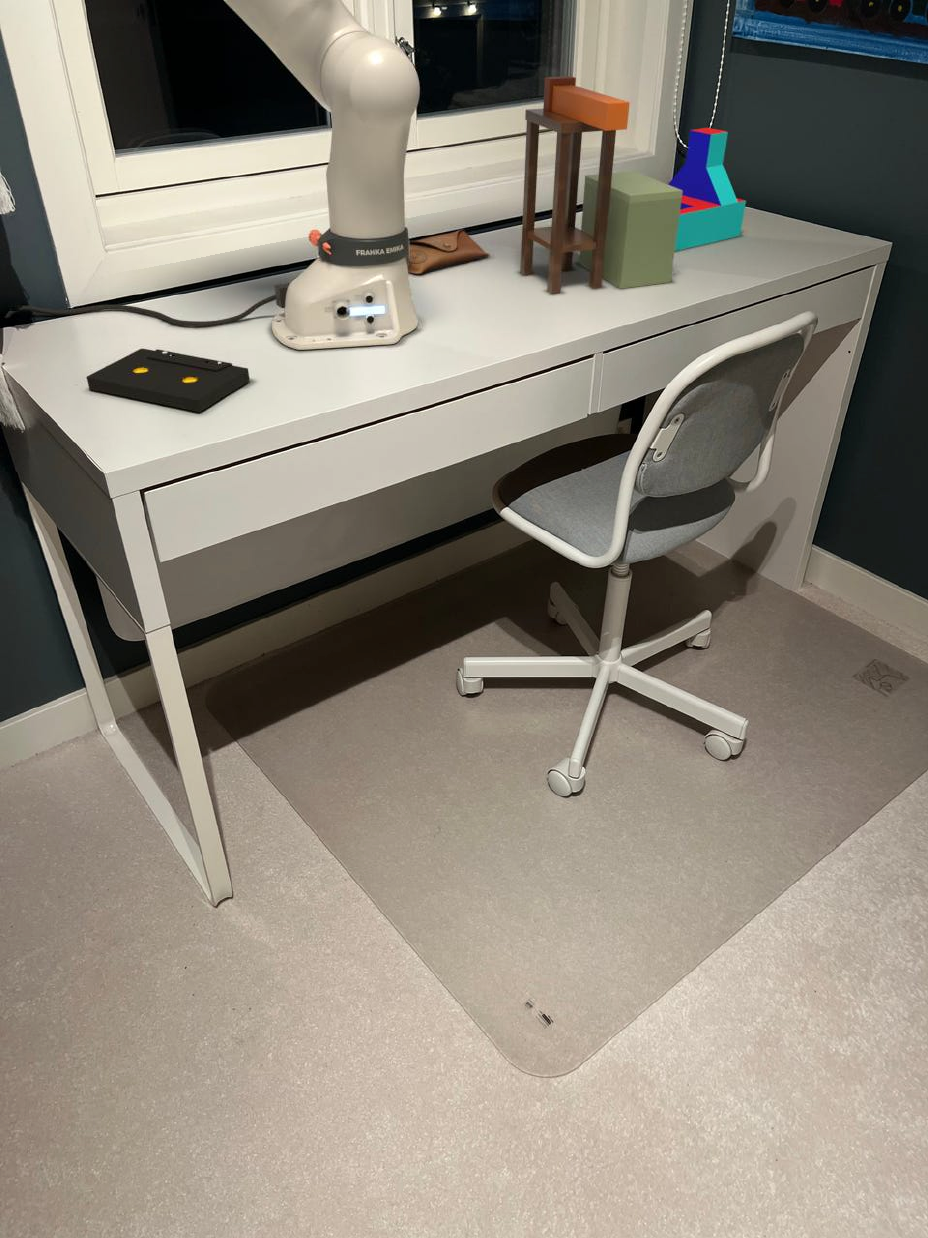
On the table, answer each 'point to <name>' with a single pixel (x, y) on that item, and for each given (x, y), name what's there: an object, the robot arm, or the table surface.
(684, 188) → the building blocks toy
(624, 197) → the sage green box
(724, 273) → the table surface
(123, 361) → the cassette tape
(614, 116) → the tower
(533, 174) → the stand
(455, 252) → the sunglasses case
